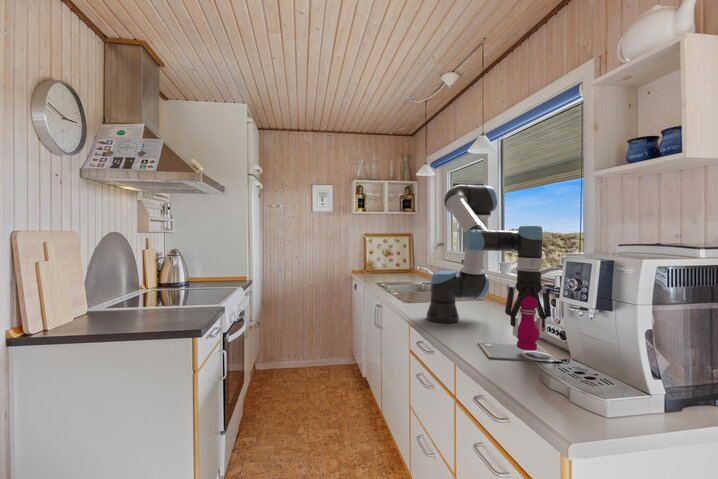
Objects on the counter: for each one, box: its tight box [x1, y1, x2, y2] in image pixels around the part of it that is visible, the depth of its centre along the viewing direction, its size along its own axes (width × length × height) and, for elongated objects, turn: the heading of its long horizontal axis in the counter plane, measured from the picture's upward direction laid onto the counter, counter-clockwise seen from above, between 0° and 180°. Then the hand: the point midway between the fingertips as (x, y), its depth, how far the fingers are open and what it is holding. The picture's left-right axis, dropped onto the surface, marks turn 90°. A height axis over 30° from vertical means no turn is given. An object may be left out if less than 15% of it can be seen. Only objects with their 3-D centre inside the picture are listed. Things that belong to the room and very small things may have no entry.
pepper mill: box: [516, 296, 540, 351], centre depth 124 cm, size 7×7×20 cm
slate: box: [477, 342, 558, 362], centre depth 126 cm, size 17×22×1 cm
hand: (526, 336), depth 124 cm, fingers closed on pepper mill, 7 cm apart
